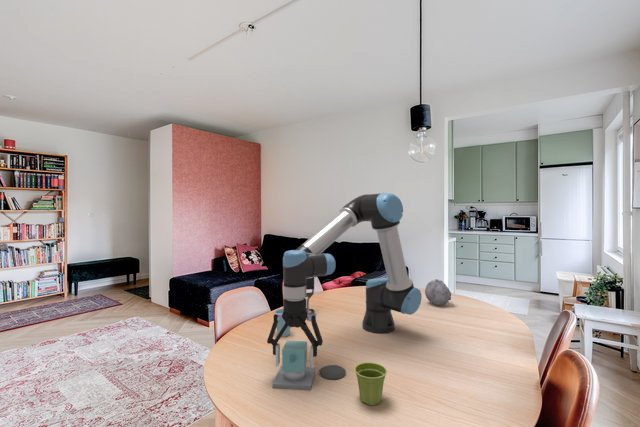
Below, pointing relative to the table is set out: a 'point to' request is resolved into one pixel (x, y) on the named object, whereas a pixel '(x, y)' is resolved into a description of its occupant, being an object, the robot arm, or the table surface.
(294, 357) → the teal cube with tab
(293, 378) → the square plate with peg
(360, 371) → the plant pot
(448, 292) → the decorative orb
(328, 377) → the coaster
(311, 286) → the chair
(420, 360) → the table surface
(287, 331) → the cup
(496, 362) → the table surface
